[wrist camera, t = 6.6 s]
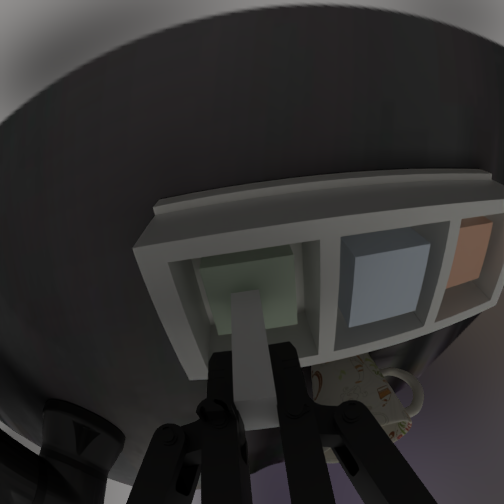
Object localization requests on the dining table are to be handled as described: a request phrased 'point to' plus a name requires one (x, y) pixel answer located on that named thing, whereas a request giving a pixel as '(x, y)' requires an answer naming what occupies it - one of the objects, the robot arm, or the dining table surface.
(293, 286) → the key
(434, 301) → the three-slot tray
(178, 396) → the dining table surface
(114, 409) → the dining table surface
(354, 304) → the key
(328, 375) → the mug
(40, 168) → the dining table surface
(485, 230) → the key
